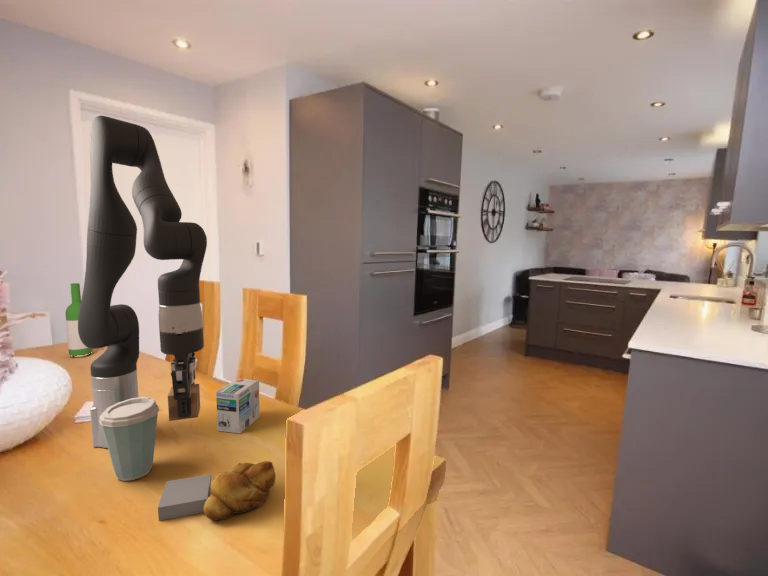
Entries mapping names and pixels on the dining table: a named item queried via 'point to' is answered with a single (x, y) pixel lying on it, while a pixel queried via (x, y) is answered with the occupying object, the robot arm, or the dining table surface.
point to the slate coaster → (184, 497)
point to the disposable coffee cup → (131, 436)
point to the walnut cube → (194, 403)
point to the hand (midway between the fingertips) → (186, 410)
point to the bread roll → (239, 489)
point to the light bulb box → (238, 405)
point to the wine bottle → (75, 324)
